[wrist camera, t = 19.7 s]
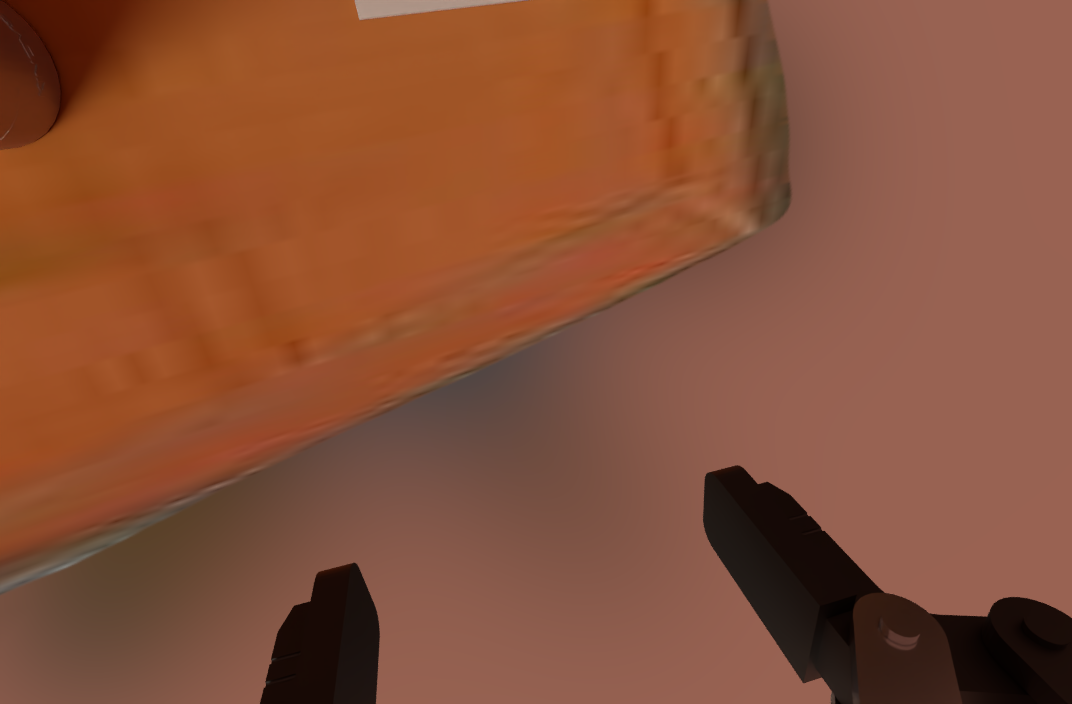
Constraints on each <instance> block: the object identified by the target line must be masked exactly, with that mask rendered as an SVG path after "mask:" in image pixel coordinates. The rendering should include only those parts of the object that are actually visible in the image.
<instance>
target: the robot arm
mask: <svg viewBox="0 0 1072 704" xmlns="http://www.w3.org/2000/svg"><path fill="white" fill-rule="evenodd" d="M60 96H61V90H60V84H59V78H58V74H57V71H56V68H55V66H54V63H53V61H52V58H51V56H50V54H49V52H48V51H47V49H46V47H45V46H44V44H43V42H42V41H41V39H40V38H39V36H38V35H37V34H36V33H35V32H34V30H33V29H32V28H31V27H30V26H29V24H28V23H27V22H26V21H25V20H24V19H23V18H22V17H21V16H20V15H19V14H17V13H16V12H15V11H14V10H13V9H12V8H11V7H10V6H9V5H7V4H6V3H5V2H3V1H2V0H0V150H3V149H10V148H18V147H22V146H24V145H27V144H30V143H32V142H35V141H36V140H37V139H39V138H40V137H42V136H43V135H44V134H46V133H47V131H48V130H49V129H50V127H51V126H52V125H53V123H54V122H55V120H56V117H57V114H58V111H59V108H60ZM703 523H704V528H705V532H706V535H707V537H708V540H709V542H710V544H711V546H712V547H713V549H714V550H715V552H716V553H717V555H718V556H719V558H720V559H721V561H722V562H723V564H724V565H725V567H726V568H727V570H728V571H729V573H730V574H731V576H732V577H733V579H734V580H735V582H736V583H737V585H738V586H739V588H740V589H741V591H742V592H743V594H744V595H745V597H746V598H747V600H748V601H749V602H750V604H751V606H752V607H753V609H754V610H755V612H756V613H757V615H758V616H759V618H760V619H761V621H762V622H763V624H764V625H765V627H766V628H767V630H768V631H769V632H770V634H771V636H772V637H773V638H774V640H775V641H776V643H777V645H778V646H779V648H780V649H781V650H782V652H783V654H784V655H785V657H786V658H787V659H788V661H789V662H790V664H791V665H792V667H793V668H794V670H795V671H796V673H797V674H798V676H799V677H800V679H801V680H802V682H803V683H806V682H809V681H812V680H815V679H818V678H821V677H822V678H823V679H824V681H825V682H826V683H827V685H828V686H829V688H830V689H831V691H832V694H831V704H1072V618H1071V617H1069V616H1068V615H1066V614H1065V613H1063V612H1061V611H1059V610H1057V609H1056V608H1053V607H1051V606H1049V605H1047V604H1044V603H1041V602H1038V601H1035V600H1031V599H1027V598H1020V597H1008V598H1003V599H1000V600H998V601H997V602H996V603H994V604H993V606H992V607H991V609H990V612H989V614H988V616H987V617H982V616H957V615H956V616H955V615H937V614H930V613H928V612H927V611H926V610H924V609H923V608H922V607H920V606H919V605H917V604H916V603H914V602H912V601H910V600H908V599H905V598H903V597H900V596H897V595H894V594H889V593H884V592H883V591H882V590H881V589H880V588H878V586H877V585H875V583H874V582H873V581H872V580H871V579H870V578H869V577H868V576H867V575H866V574H865V573H864V572H863V571H862V570H861V569H860V568H859V567H858V566H857V564H856V563H854V561H853V560H852V559H851V558H850V557H849V556H848V555H847V554H846V553H845V552H844V551H843V550H842V549H841V548H840V547H839V546H838V545H837V543H836V542H835V541H834V540H833V539H832V538H831V537H830V536H829V535H828V534H827V533H826V532H825V531H822V530H821V527H820V526H819V525H818V524H817V523H816V521H815V520H814V519H813V518H812V517H811V516H808V515H807V512H806V511H805V510H804V509H803V508H802V507H801V506H800V505H799V504H798V503H797V502H796V501H795V499H794V498H793V497H792V496H791V495H789V494H788V493H786V492H784V491H783V490H781V489H779V488H777V487H776V486H774V485H772V484H770V483H769V482H765V483H761V484H757V483H756V482H755V480H753V478H752V477H751V476H750V475H749V474H748V473H747V471H746V470H745V469H744V468H742V467H741V466H738V465H737V466H732V467H728V468H725V469H721V470H717V471H713V472H709V473H707V474H706V476H705V487H704V512H703ZM379 638H380V631H379V621H378V615H377V611H376V608H375V605H374V602H373V600H372V598H371V595H370V593H369V591H368V588H367V586H366V583H365V581H364V579H363V577H362V574H361V572H360V569H359V567H358V565H357V564H356V563H352V564H347V565H344V566H340V567H336V568H332V569H329V570H324V571H321V572H318V574H317V575H316V578H315V582H314V587H313V592H312V597H311V601H310V602H307V603H303V604H300V605H295V606H294V607H293V608H292V610H291V612H290V613H289V615H288V617H287V618H286V620H285V622H284V623H283V625H282V626H281V628H280V629H279V631H278V633H277V637H276V641H275V645H274V650H273V653H272V658H271V660H272V663H271V664H270V665H269V669H268V674H267V678H266V687H265V688H264V690H263V694H262V698H261V702H260V704H376V691H377V675H378V674H377V673H378V657H379Z"/></svg>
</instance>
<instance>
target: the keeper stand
mask: <svg viewBox="0 0 1072 704" xmlns="http://www.w3.org/2000/svg"><path fill="white" fill-rule="evenodd" d="M518 1H527V0H355V4H356V8H357V12H358V16H359V20H366V19H374V18H383V17H391V16H400V15H408V14H417V13H425V12H433V11H442V10H450V9H459V8H467V7H476V6H484V5H493V4H501V3H510V2H518Z"/></svg>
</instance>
